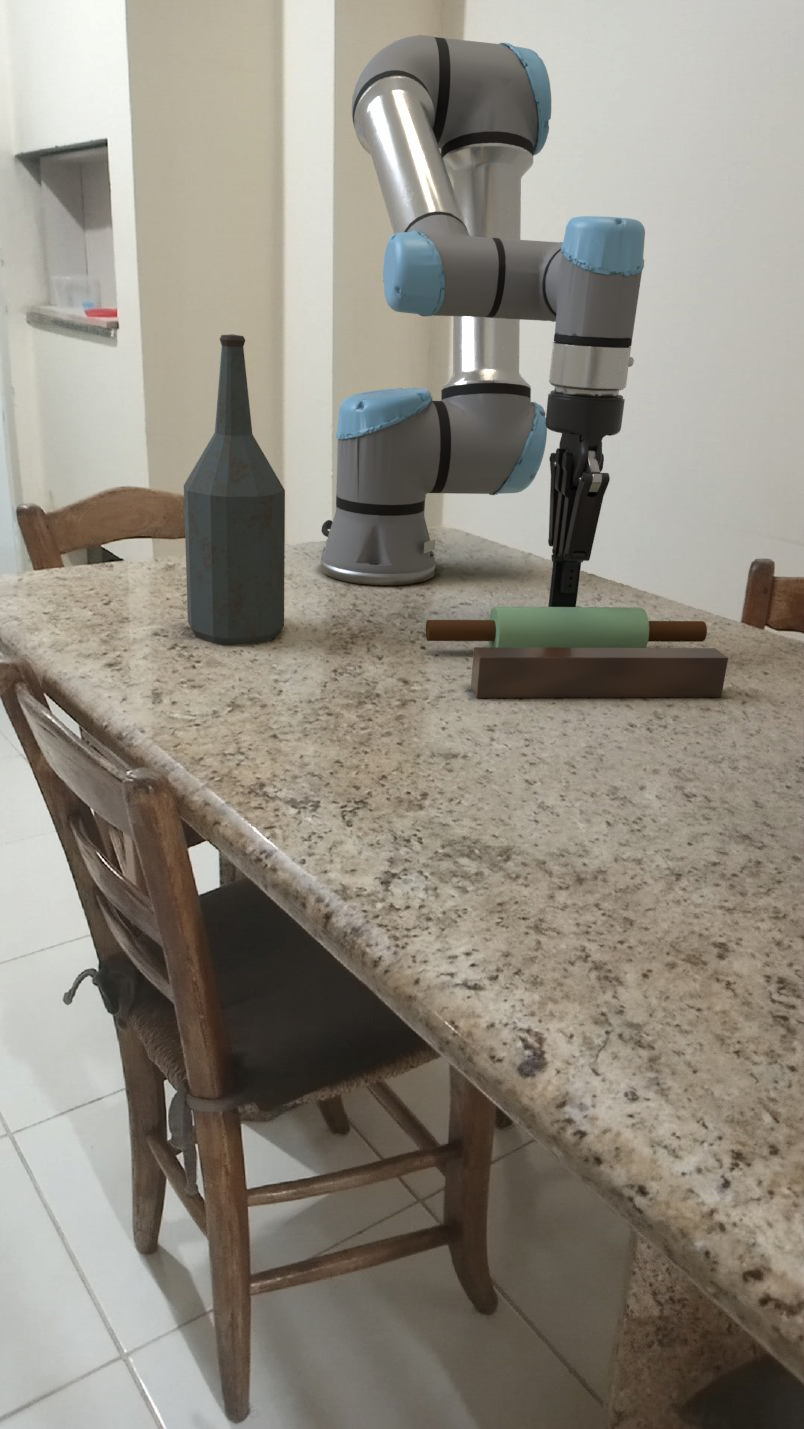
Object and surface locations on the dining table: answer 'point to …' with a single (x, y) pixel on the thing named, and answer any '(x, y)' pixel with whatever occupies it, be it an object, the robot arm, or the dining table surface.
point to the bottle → (234, 523)
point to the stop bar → (597, 672)
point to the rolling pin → (566, 628)
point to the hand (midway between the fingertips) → (560, 618)
